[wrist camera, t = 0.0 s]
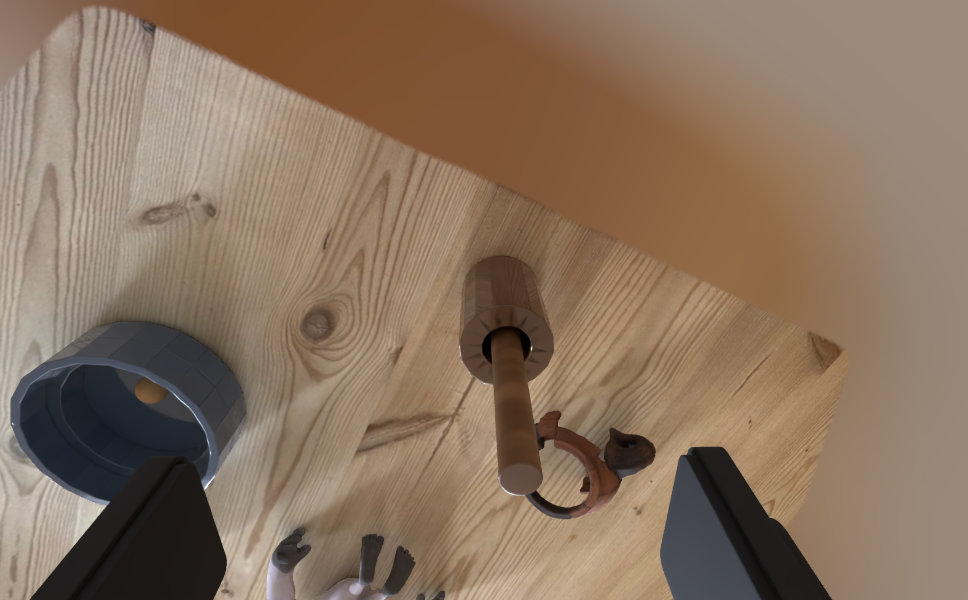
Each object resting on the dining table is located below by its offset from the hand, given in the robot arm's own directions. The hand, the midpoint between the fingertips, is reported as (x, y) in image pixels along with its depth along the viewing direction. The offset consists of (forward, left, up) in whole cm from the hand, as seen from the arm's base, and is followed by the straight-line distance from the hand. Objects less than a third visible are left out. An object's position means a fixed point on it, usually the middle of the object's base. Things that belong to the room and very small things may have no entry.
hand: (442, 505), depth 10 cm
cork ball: (+30, -10, -28) cm, 43 cm away
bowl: (+32, -9, -30) cm, 45 cm away
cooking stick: (+5, +8, -30) cm, 31 cm away
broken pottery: (+12, +24, -31) cm, 41 cm away
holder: (+5, +8, -30) cm, 32 cm away
